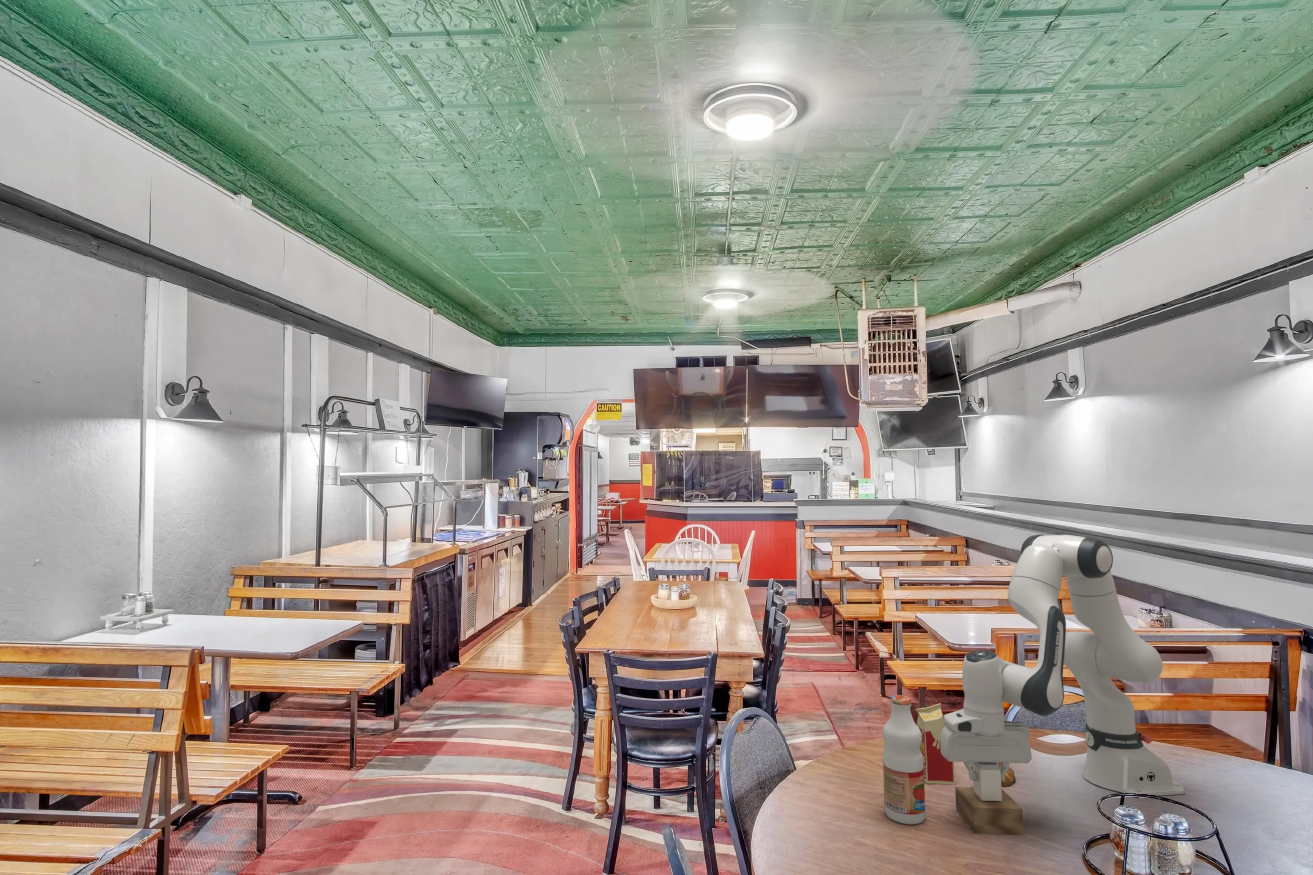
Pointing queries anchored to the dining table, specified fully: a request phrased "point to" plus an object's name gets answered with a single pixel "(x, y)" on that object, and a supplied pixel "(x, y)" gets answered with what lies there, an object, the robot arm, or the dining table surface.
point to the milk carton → (934, 747)
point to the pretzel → (1007, 777)
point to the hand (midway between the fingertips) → (986, 780)
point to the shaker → (988, 781)
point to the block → (989, 813)
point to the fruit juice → (903, 765)
